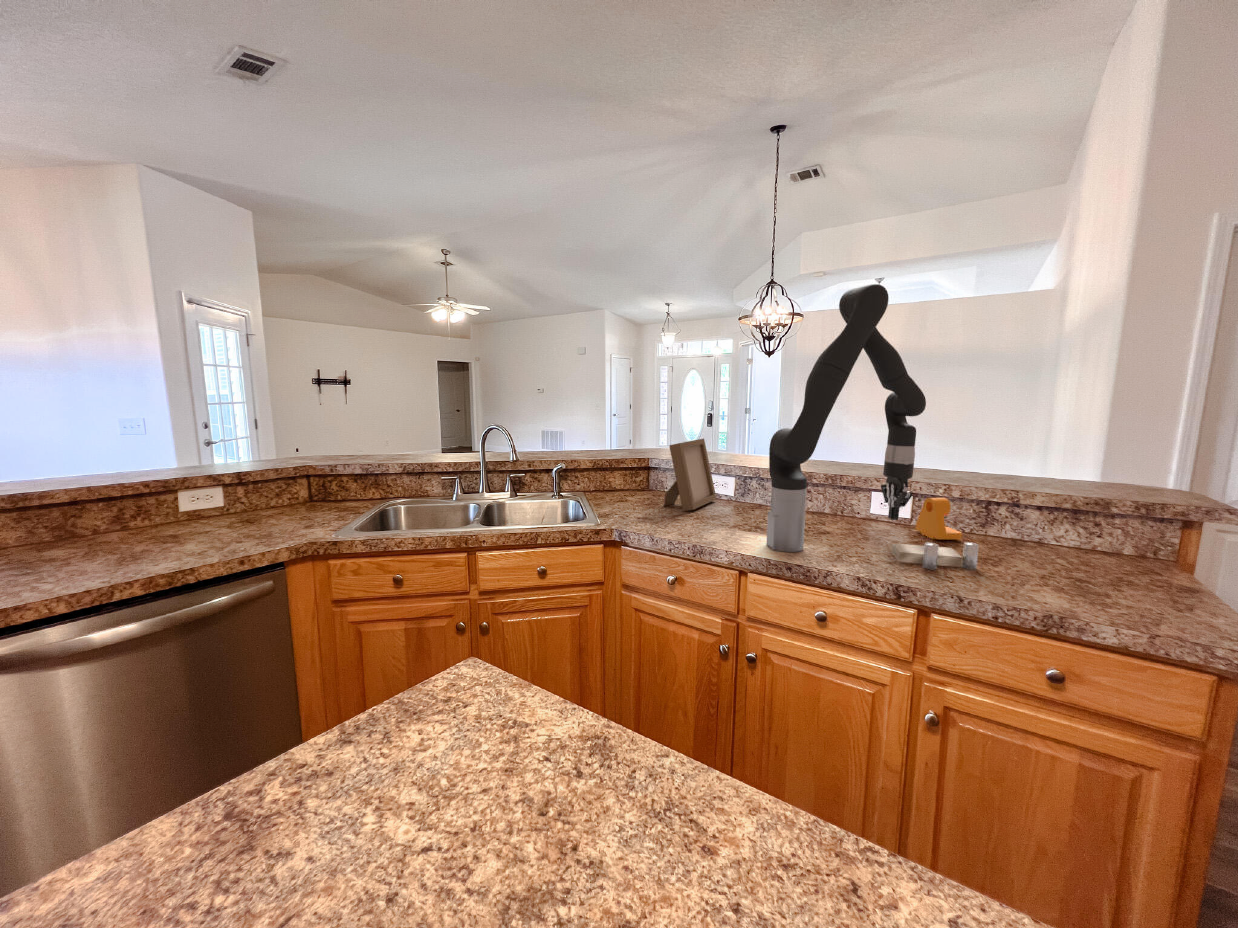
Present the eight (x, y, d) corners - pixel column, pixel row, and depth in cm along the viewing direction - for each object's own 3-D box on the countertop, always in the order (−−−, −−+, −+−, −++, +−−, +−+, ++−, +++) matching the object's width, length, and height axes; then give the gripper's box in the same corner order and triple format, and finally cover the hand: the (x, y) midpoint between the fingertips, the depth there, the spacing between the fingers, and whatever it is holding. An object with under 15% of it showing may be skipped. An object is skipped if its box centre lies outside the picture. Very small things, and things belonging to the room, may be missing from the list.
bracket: (962, 541, 147) (966, 501, 146) (938, 542, 147) (941, 501, 145) (938, 531, 158) (941, 494, 156) (915, 532, 158) (918, 494, 156)
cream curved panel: (898, 563, 130) (899, 551, 129) (891, 553, 137) (892, 543, 137) (961, 568, 126) (962, 557, 125) (950, 558, 133) (951, 547, 133)
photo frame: (716, 501, 201) (717, 438, 197) (693, 512, 182) (693, 443, 179) (682, 497, 209) (683, 437, 205) (657, 507, 191) (657, 442, 187)
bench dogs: (927, 569, 124) (929, 546, 123) (919, 565, 127) (921, 542, 126) (979, 569, 124) (981, 545, 123) (970, 565, 127) (973, 542, 126)
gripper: (874, 457, 152) (869, 513, 155) (899, 463, 139) (893, 524, 141) (898, 458, 152) (893, 514, 155) (926, 464, 139) (919, 525, 142)
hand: (893, 519), depth 148 cm, fingers closed
